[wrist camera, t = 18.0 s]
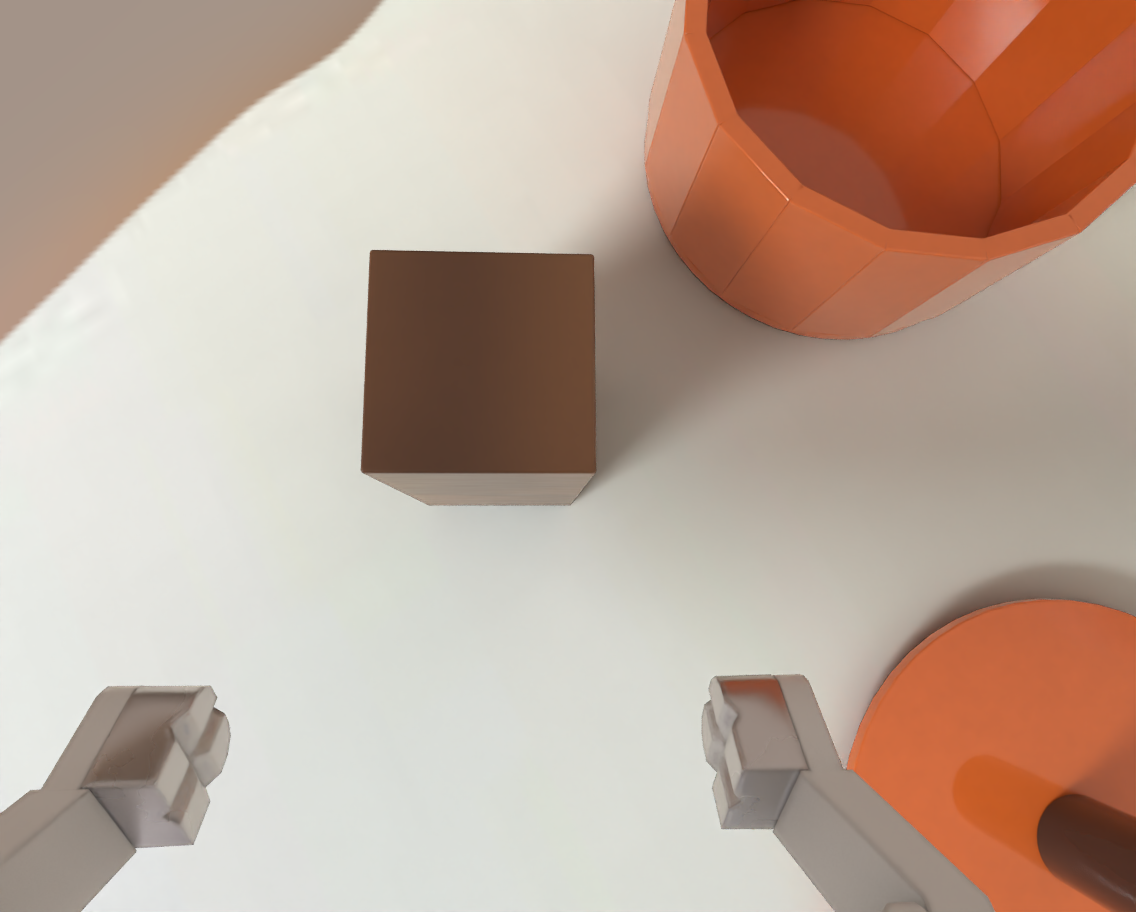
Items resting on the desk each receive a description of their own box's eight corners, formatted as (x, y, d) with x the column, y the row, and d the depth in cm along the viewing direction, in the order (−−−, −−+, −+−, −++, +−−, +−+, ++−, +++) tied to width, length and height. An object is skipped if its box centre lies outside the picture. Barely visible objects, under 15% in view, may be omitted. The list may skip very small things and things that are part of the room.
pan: (924, -37, 25) (1058, -238, 19) (1063, 280, 24) (1260, 178, 17) (594, 45, 24) (618, -140, 18) (717, 387, 22) (791, 319, 16)
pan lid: (1151, 541, 22) (1330, 537, 17) (1337, 975, 21) (1596, 1109, 16) (766, 677, 21) (841, 716, 16) (932, 1153, 19) (1073, 1365, 14)
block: (570, 367, 22) (594, 253, 14) (571, 505, 22) (596, 473, 13) (431, 365, 22) (368, 248, 14) (427, 505, 21) (359, 473, 13)
